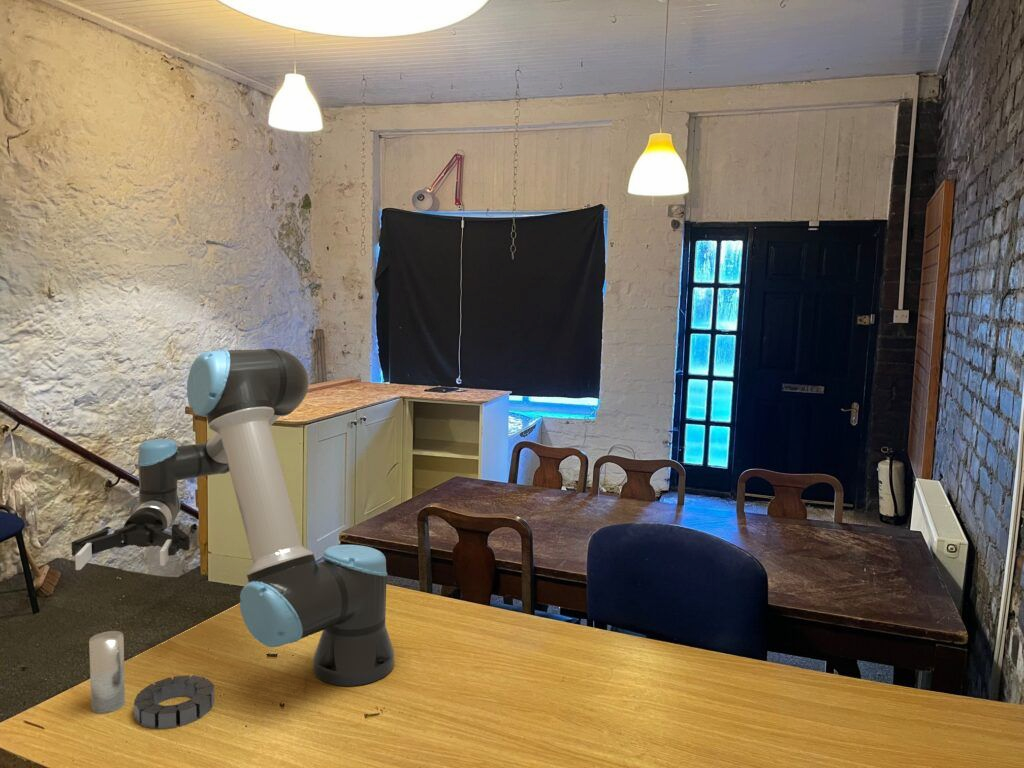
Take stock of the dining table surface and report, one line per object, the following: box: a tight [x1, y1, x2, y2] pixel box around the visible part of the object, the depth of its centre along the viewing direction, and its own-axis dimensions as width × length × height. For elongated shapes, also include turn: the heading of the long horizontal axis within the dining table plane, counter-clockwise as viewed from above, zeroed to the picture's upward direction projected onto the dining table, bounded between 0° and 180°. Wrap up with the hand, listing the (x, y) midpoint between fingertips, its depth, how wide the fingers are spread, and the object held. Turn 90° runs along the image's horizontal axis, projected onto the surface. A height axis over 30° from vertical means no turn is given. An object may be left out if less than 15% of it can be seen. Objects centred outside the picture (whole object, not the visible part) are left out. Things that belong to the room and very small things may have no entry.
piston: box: [88, 630, 126, 714], centre depth 120 cm, size 5×5×12 cm
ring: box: [133, 674, 215, 730], centre depth 120 cm, size 12×12×2 cm
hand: (120, 560), depth 127 cm, fingers open, 13 cm apart
